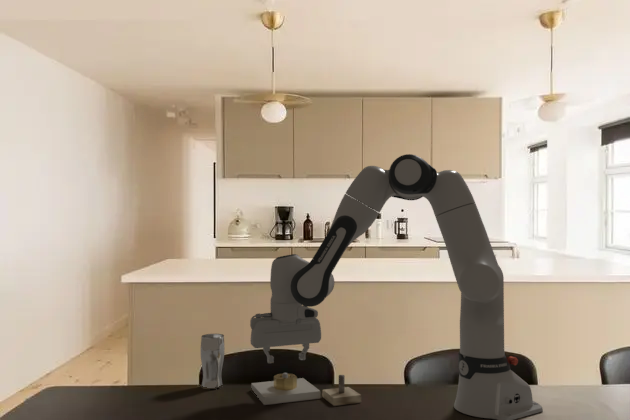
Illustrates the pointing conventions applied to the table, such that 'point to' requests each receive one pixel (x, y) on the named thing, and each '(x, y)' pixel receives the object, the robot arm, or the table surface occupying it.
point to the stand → (341, 394)
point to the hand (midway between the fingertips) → (286, 361)
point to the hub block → (285, 392)
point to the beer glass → (212, 359)
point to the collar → (285, 382)
